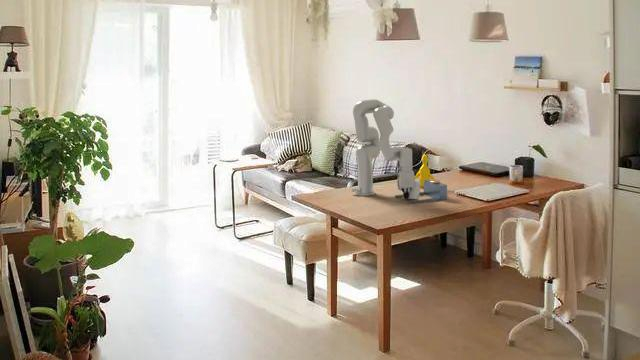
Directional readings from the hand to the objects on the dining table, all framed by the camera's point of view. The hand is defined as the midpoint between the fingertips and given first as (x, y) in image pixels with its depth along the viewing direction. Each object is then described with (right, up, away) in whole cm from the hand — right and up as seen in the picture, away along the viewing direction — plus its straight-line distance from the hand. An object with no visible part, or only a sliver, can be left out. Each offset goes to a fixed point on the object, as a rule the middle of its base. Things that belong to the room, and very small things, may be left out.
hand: (406, 198), depth 353 cm
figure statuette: (+17, +6, +36) cm, 40 cm away
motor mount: (+10, 0, +4) cm, 10 cm away
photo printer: (+3, 0, +2) cm, 4 cm away
